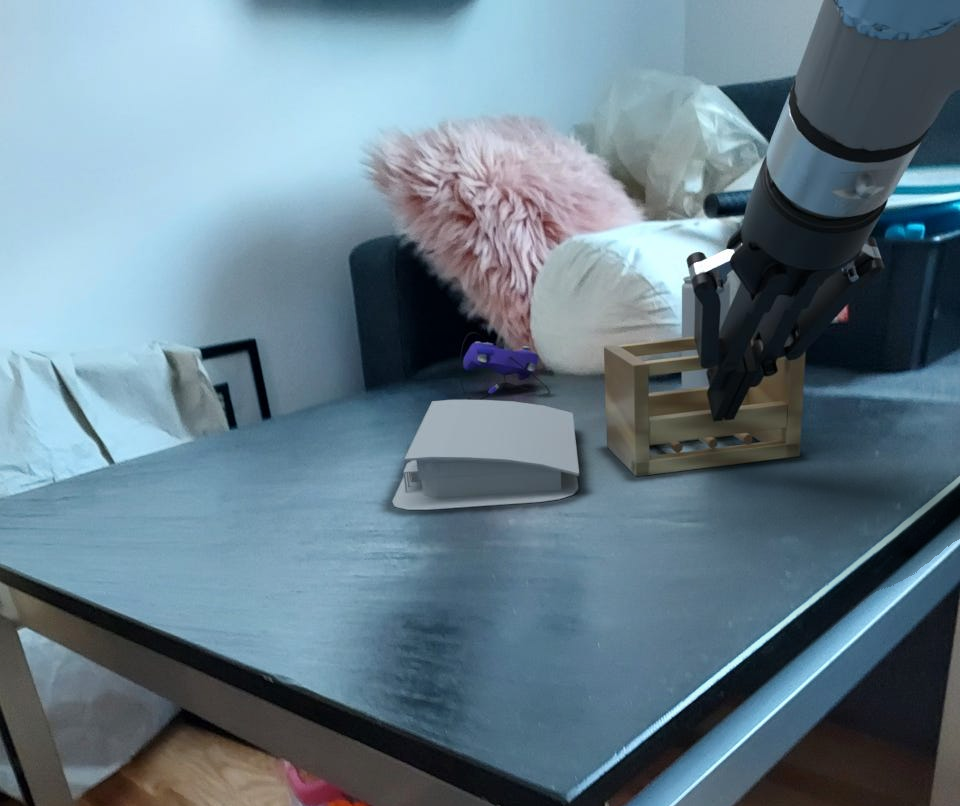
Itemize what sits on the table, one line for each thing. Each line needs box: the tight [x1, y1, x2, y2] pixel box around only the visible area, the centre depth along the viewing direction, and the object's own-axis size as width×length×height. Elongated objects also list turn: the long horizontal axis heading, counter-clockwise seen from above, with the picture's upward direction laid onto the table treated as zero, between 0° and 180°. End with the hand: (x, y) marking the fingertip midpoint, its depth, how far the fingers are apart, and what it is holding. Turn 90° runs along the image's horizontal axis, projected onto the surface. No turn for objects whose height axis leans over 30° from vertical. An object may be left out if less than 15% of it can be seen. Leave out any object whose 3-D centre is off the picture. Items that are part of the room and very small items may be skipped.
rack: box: [603, 336, 807, 477], centre depth 81 cm, size 14×10×9 cm
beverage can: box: [681, 274, 731, 389], centre depth 100 cm, size 5×5×12 cm
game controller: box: [459, 331, 551, 400], centre depth 112 cm, size 10×8×10 cm
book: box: [391, 399, 580, 511], centre depth 84 cm, size 15×23×4 cm, turn 177°
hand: (720, 405), depth 77 cm, fingers closed
